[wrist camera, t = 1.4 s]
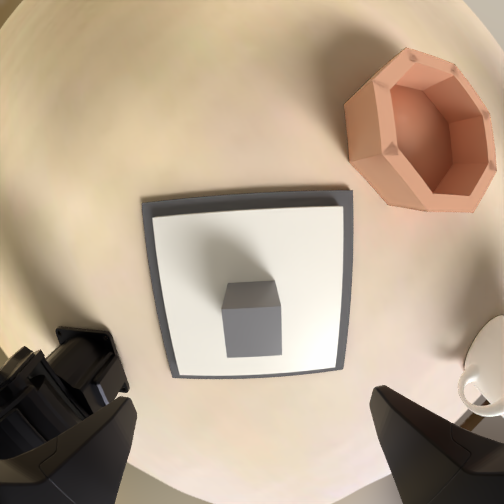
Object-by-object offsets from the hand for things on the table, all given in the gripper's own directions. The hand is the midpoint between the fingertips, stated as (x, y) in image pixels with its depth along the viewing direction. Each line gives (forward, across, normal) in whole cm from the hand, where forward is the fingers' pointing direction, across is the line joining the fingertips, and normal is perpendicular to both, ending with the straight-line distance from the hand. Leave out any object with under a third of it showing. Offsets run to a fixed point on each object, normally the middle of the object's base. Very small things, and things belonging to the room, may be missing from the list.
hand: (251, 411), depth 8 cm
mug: (+11, -25, +10) cm, 29 cm away
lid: (+10, 0, 0) cm, 10 cm away
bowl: (+11, -12, -11) cm, 20 cm away
